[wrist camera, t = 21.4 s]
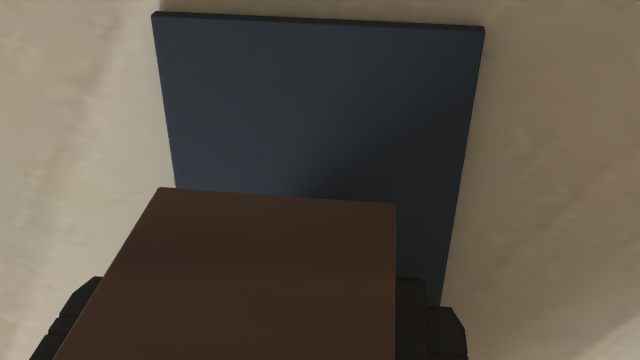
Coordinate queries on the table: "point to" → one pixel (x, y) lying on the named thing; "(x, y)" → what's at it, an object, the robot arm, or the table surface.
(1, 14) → the table surface
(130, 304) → the tile
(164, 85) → the mat
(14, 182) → the table surface
